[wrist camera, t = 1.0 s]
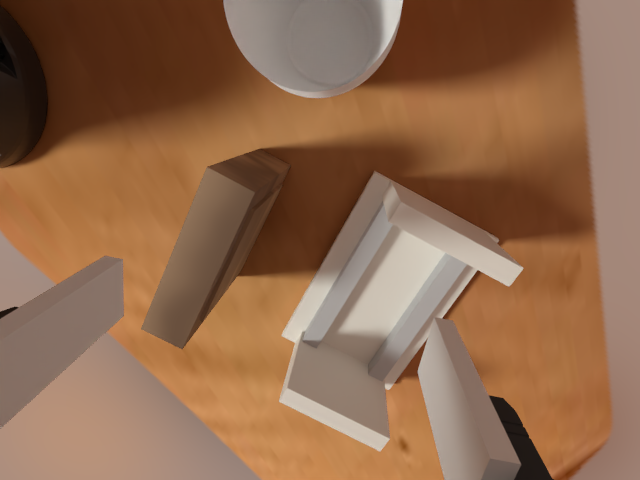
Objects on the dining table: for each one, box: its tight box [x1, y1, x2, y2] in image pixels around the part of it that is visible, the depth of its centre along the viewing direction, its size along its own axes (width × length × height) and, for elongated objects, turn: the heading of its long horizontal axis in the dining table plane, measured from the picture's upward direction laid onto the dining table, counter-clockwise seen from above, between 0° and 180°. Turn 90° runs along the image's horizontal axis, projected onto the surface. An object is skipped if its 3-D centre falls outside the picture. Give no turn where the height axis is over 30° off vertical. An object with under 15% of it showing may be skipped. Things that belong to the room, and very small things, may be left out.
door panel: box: [141, 149, 291, 349], centre depth 29 cm, size 3×12×12 cm, turn 153°
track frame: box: [279, 171, 524, 451], centre depth 31 cm, size 12×18×9 cm, turn 153°
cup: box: [223, 0, 403, 98], centre depth 24 cm, size 9×9×12 cm
